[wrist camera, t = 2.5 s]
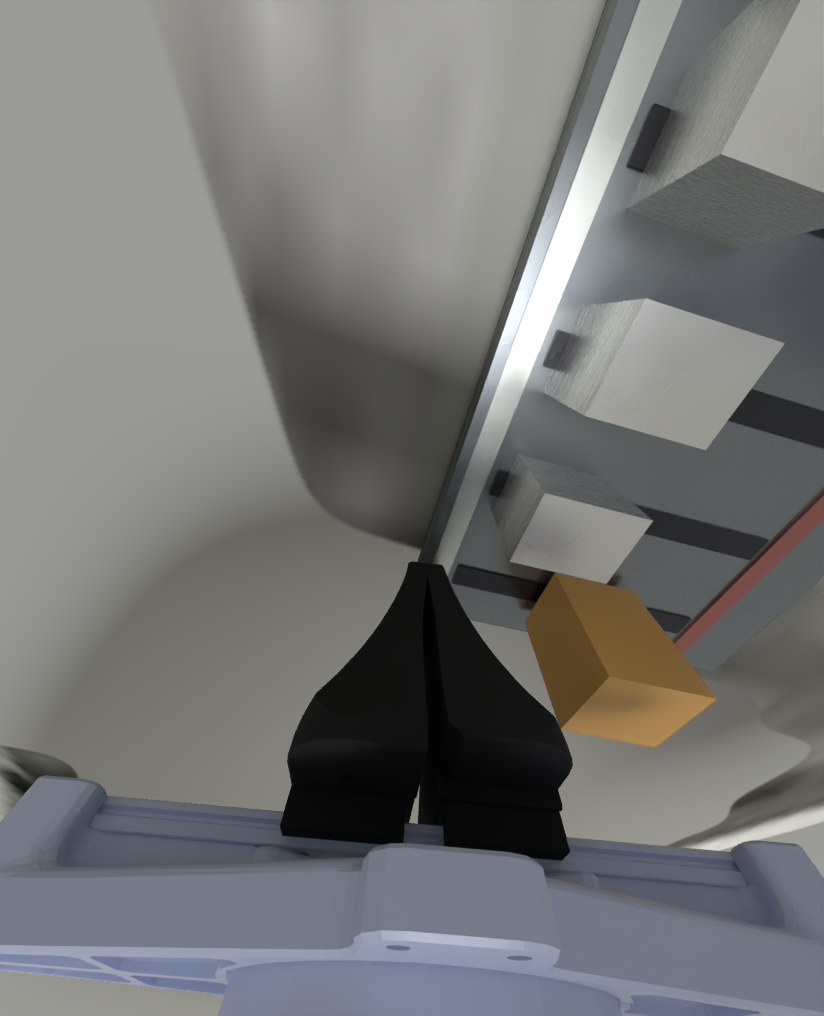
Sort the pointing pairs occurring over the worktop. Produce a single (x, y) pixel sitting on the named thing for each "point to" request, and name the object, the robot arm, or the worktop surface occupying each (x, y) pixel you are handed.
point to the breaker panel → (647, 458)
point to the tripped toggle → (611, 664)
